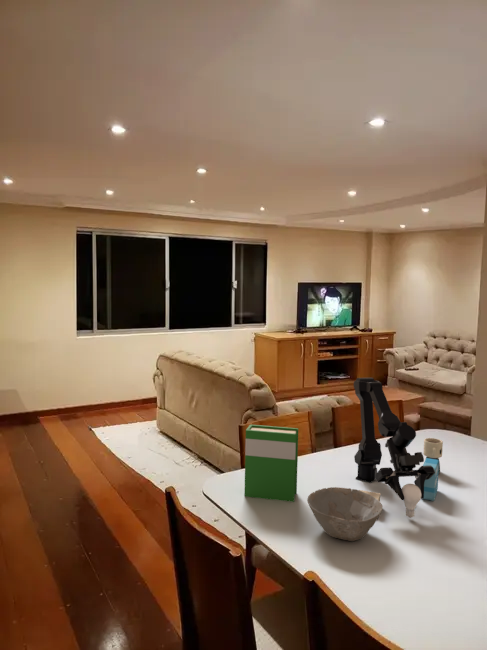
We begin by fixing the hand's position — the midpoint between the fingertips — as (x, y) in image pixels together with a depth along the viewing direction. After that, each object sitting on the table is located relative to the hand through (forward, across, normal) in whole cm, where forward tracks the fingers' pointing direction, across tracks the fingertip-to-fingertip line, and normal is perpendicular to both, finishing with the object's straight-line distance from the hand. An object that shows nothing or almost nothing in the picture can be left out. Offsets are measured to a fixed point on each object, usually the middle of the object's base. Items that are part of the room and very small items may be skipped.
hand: (413, 499), depth 164 cm
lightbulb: (+4, 0, +6) cm, 7 cm away
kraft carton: (-2, -10, +13) cm, 17 cm away
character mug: (-22, +30, +34) cm, 50 cm away
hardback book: (-13, -41, +24) cm, 49 cm away
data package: (-8, +17, +19) cm, 26 cm away
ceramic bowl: (+9, -25, +2) cm, 26 cm away
